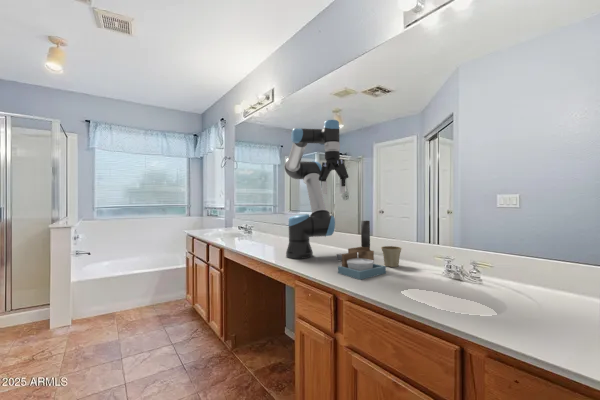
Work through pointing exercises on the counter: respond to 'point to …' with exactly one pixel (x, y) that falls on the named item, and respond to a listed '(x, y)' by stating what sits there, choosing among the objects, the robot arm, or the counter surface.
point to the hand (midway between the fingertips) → (333, 193)
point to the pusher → (362, 251)
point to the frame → (362, 272)
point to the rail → (340, 257)
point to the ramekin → (360, 264)
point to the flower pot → (391, 255)
